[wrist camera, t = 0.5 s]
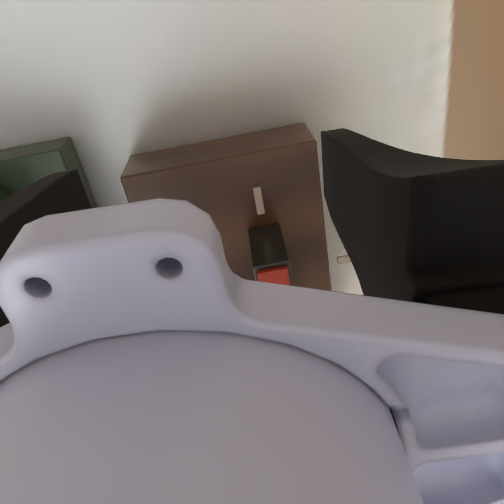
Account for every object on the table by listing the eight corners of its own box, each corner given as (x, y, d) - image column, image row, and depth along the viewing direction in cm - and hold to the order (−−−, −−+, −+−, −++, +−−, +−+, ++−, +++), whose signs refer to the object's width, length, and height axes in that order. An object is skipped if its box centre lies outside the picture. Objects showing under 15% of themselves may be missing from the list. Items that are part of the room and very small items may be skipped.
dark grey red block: (293, 310, 26) (305, 358, 22) (264, 315, 26) (272, 364, 22) (279, 223, 23) (290, 263, 20) (247, 229, 23) (253, 270, 20)
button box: (131, 297, 28) (120, 342, 25) (-10, 323, 28) (-41, 371, 25) (70, 136, 23) (45, 164, 19) (-102, 169, 23) (-157, 203, 20)
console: (355, 315, 30) (369, 349, 27) (190, 345, 30) (188, 381, 28) (341, 115, 23) (358, 133, 21) (129, 155, 24) (118, 178, 21)
